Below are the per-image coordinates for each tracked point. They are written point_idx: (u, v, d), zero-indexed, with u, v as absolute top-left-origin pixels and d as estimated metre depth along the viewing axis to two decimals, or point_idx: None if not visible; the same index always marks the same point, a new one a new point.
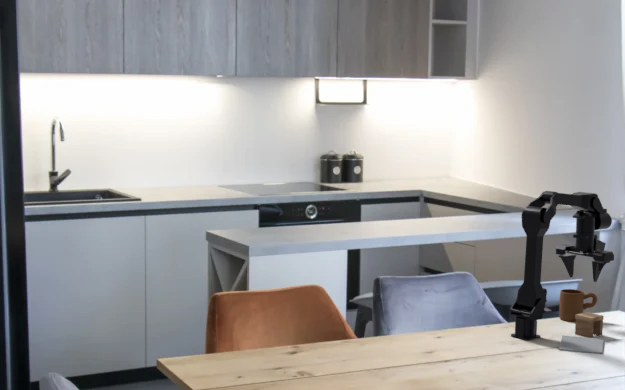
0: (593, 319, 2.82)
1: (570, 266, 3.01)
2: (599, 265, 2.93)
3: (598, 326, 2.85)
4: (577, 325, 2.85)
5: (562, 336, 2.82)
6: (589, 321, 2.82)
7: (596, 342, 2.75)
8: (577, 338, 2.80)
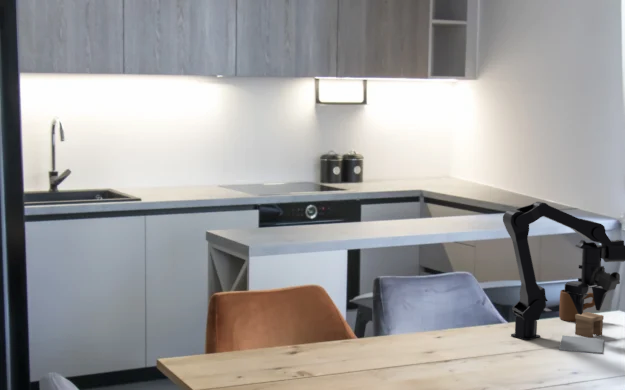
0: (593, 319, 2.82)
1: (597, 298, 2.88)
2: (578, 297, 2.81)
3: (598, 326, 2.85)
4: (577, 325, 2.85)
5: (562, 336, 2.82)
6: (589, 321, 2.82)
7: (596, 342, 2.75)
8: (577, 338, 2.80)
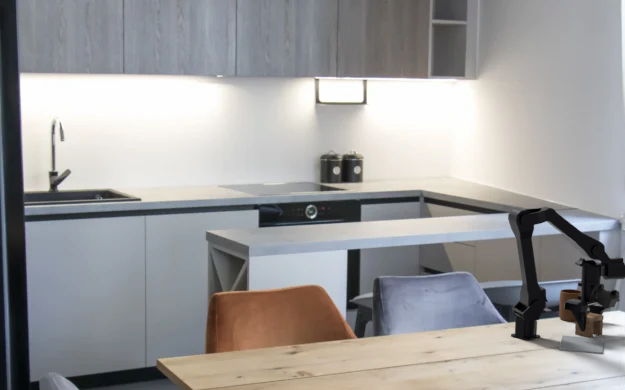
0: (593, 319, 2.82)
1: None
2: (581, 314, 2.82)
3: (598, 326, 2.85)
4: (577, 325, 2.85)
5: (562, 336, 2.82)
6: (589, 321, 2.82)
7: (596, 342, 2.75)
8: (577, 338, 2.80)
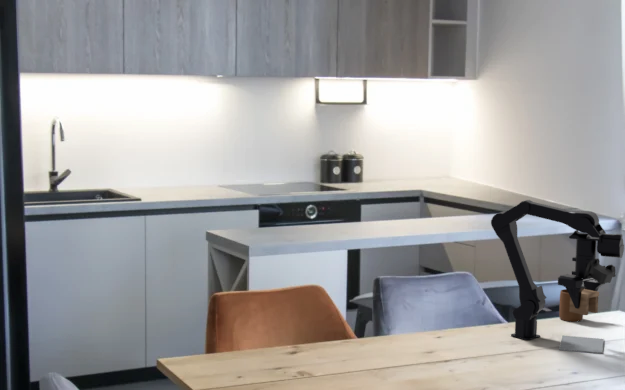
0: (588, 295, 2.69)
1: None
2: (575, 290, 2.70)
3: (593, 303, 2.72)
4: (571, 302, 2.72)
5: (562, 336, 2.82)
6: (584, 297, 2.69)
7: (596, 342, 2.75)
8: (577, 338, 2.80)
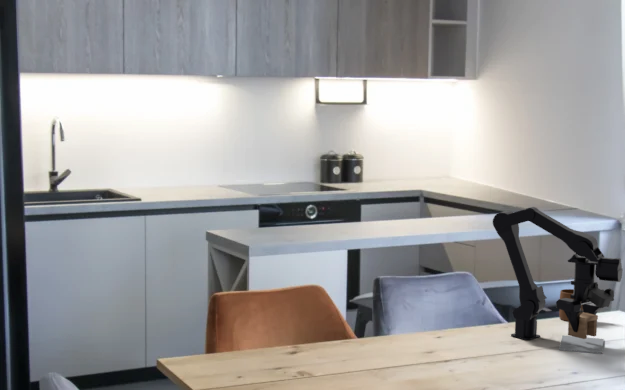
0: (587, 319, 2.69)
1: None
2: (574, 314, 2.70)
3: (592, 326, 2.73)
4: (570, 325, 2.73)
5: (562, 336, 2.82)
6: (582, 321, 2.69)
7: (596, 342, 2.75)
8: (577, 338, 2.80)
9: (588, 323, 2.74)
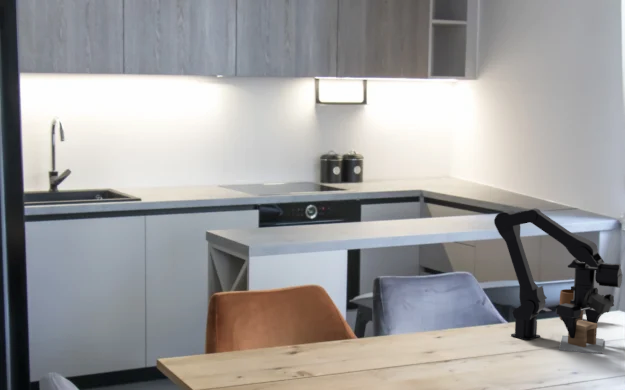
0: (586, 327, 2.69)
1: (590, 321, 2.77)
2: (571, 320, 2.69)
3: (592, 335, 2.73)
4: None
5: (562, 336, 2.82)
6: (582, 329, 2.70)
7: (596, 342, 2.75)
8: None
9: (588, 331, 2.74)
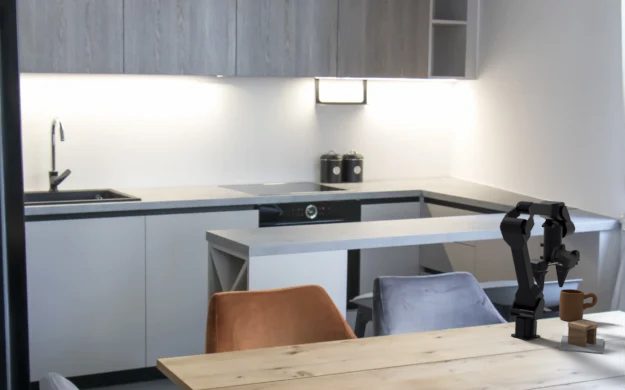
0: (586, 327, 2.69)
1: (559, 275, 2.97)
2: (539, 274, 2.90)
3: (592, 335, 2.73)
4: (570, 334, 2.73)
5: (562, 336, 2.82)
6: (582, 329, 2.70)
7: (596, 342, 2.75)
8: None
9: (588, 331, 2.74)
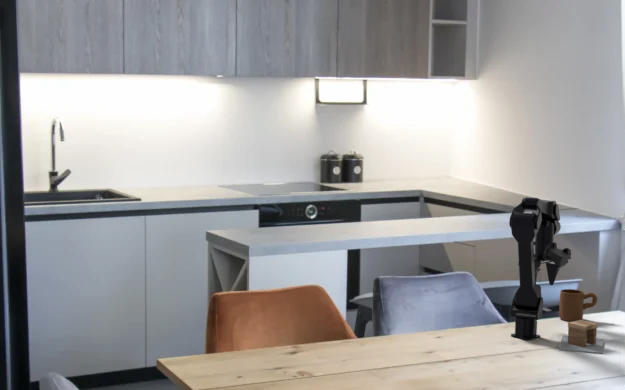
0: (586, 327, 2.69)
1: (550, 274, 3.02)
2: None
3: (592, 335, 2.73)
4: (570, 334, 2.73)
5: (562, 336, 2.82)
6: (582, 329, 2.70)
7: (596, 342, 2.75)
8: None
9: (588, 331, 2.74)
